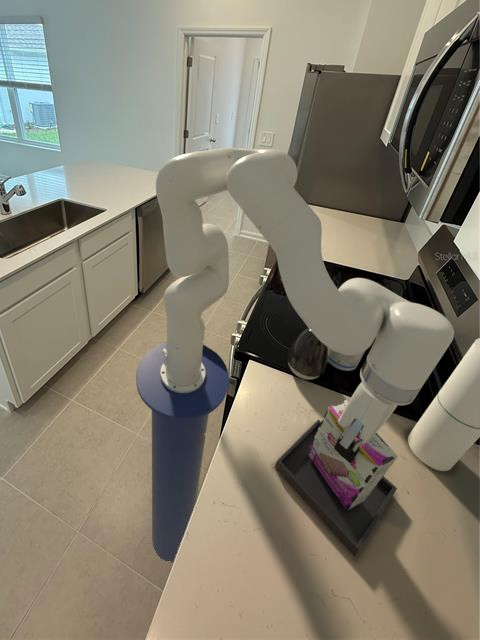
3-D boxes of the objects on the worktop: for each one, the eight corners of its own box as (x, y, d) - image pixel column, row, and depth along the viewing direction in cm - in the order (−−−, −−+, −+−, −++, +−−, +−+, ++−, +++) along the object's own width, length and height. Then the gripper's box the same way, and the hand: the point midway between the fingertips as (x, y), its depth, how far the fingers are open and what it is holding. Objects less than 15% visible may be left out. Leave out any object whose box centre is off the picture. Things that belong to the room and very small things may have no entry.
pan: (274, 467, 64) (276, 460, 62) (315, 425, 72) (318, 419, 71) (354, 556, 52) (359, 550, 51) (392, 494, 61) (397, 488, 59)
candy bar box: (304, 454, 65) (326, 405, 57) (322, 445, 67) (346, 397, 59) (346, 514, 56) (378, 467, 48) (365, 502, 58) (400, 455, 50)
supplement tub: (316, 350, 93) (329, 312, 86) (340, 344, 96) (356, 307, 89) (339, 376, 85) (356, 337, 78) (365, 368, 88) (384, 330, 81)
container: (447, 441, 71) (524, 347, 56) (458, 478, 64) (549, 383, 49) (405, 425, 74) (468, 332, 59) (411, 459, 67) (484, 363, 52)
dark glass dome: (277, 371, 85) (289, 330, 78) (293, 350, 92) (305, 311, 85) (313, 393, 80) (329, 351, 72) (327, 369, 87) (343, 329, 80)
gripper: (388, 339, 54) (355, 403, 63) (337, 387, 45) (306, 455, 54) (437, 367, 49) (393, 433, 58) (391, 429, 40) (347, 496, 48)
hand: (352, 443), depth 56 cm, fingers closed on candy bar box, 5 cm apart
